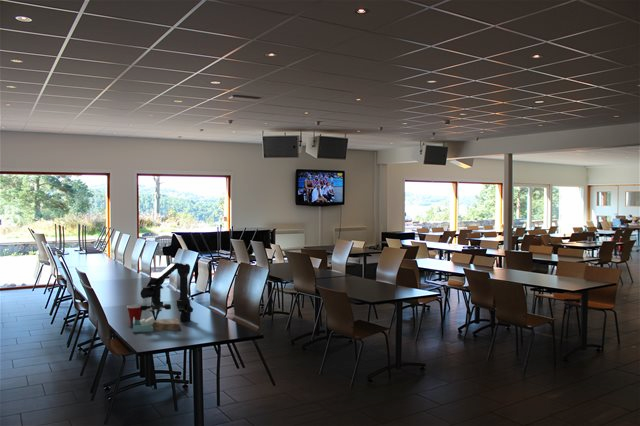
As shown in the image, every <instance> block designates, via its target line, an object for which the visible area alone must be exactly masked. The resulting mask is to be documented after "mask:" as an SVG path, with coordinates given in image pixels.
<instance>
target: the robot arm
mask: <svg viewBox="0 0 640 426" xmlns="http://www.w3.org/2000/svg"><path fill="white" fill-rule="evenodd" d="M176 270H177V274H178V275H179V298H178V299H177V300H176V307H177V309H178V310H177V311H178V312H180V313H179V321H180V322H181V323H182V322H183V323H184V322H191V313H193V312H194V308H193V307H192V306H191V302H190V299H189V297H188V276H189V275H190V273H191V265H190V264H188V263H182V262H175V261H173V262H170V264H169V265H168V266H167V267H165V269H163V270H162V271H161V272H160V273H157V274H155V275H152V276H151V277H150V279H149V282H148V283H147V285H146V286H144V287H142V289H141V290H140V294H139V295H140V297H141V299H148V298H150V305H147V304H143V305H141V306H140V310H141V311H142V312H143V311H147V310H149V312H151V313H152V316H153V318H154V320H155V321H156V319H158V316H159V313H161V312H162V309H165V310H166V311H167V310H171V309H172V304H170V303H164V301H161V298H162V295H161V293H162V292H161V291H162V290H163V289H164V287H163V286H162V285H163V284H164V282H165V281H166V280H165V279H166V278H167V277H169V276H170V275H171V274H172V273H174V272H175V271H176ZM155 310H156V311H155Z"/></svg>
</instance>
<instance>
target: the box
mask: <svg viewBox="0 0 640 426" xmlns="http://www.w3.org/2000/svg"><path fill="white" fill-rule="evenodd" d="M147 319H148V318H147ZM147 319H145V320H147ZM140 320H141V319H140ZM140 320H135V317H133V324H132V333H133V334H134V333H152V332H154V331H153V323H152V324H151V325H141V323H140Z"/></svg>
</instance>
